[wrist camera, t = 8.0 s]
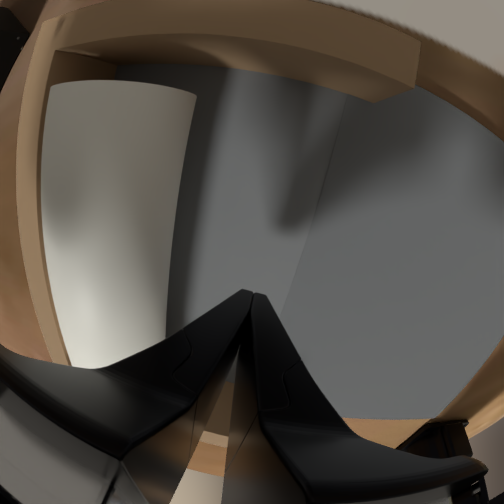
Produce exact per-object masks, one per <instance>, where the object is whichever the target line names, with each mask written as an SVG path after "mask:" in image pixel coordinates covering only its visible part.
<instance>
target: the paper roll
mask: <svg viewBox="0 0 504 504" xmlns="http://www.w3.org/2000/svg"><path fill="white" fill-rule="evenodd" d="M196 99H197V96H196V95H195V94H193V93H190V92H187V91H184V90H180V89H176V88H172V87H167V86H162V85H156V84H150V83H142V82H132V81H118V80H86V81H73V82H66V83H60V84H56V85H53V86H51V87H50V92H49V98H48V104H47V110H46V117H45V125H44V133H43V144H42V159H41V212H42V228H43V239H44V248H45V256H46V263H47V270H48V276H49V281H50V287H51V292H52V297H53V301H54V306H55V310H56V314H57V318H58V322H59V326H60V329H61V333H62V336H63V340H64V343H65V346H66V350H67V353H68V356H69V359H70V362H71V364H72V366H74V367H80V368H88V369H95V368H101V367H105V366H108V365H111V364H113V363H116V362H118V361H120V360H122V359H125V358H127V357H129V356H131V355H134V354H136V353H138V352H140V351H142V350H145V349H147V348H149V347H151V346H153V345H155V344H157V343H159V342H161V341H162V340H164V339H165V335H166V312H167V296H168V282H169V270H170V259H171V249H172V239H173V231H174V223H175V215H176V207H177V200H178V193H179V187H180V180H181V174H182V168H183V162H184V157H185V151H186V146H187V141H188V136H189V131H190V126H191V121H192V116H193V112H194V107H195V103H196Z"/></svg>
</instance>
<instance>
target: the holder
mask: <svg viewBox="0 0 504 504" xmlns="http://www.w3.org/2000/svg"><path fill="white" fill-rule="evenodd" d="M420 48H421V41H419V40H417V39H415V38H413V37H411V36H409V35H407V34H405V33H403V32H401V31H399V30H397V29H394V28H392V27H390V26H387V25H385V24H383V23H380V22H378V21H375V20H373V19H370V18H367V17H365V16H362V15H359V14H356V13H353V12H350V11H347V10H344V9H340V8H337V7H333V6H330V5H326V4H322V3H318V2H314V1H310V0H110V1H106V2H102V3H98V4H94V5H91V6H87V7H84V8H80V9H77V10H74V11H71V12H68V13H65V14H63V15H60V16H57V17H55V18H52V19H50V20H47V21H45V22H43V23H42V26H41V29H40V32H39V35H38V38H37V41H36V44H35V47H34V51H33V54H32V58H31V61H30V65H29V69H28V74H27V78H26V83H25V88H24V93H23V98H22V104H21V111H20V119H19V128H18V139H17V155H16V196H17V213H18V224H19V233H20V241H21V248H22V254H23V260H24V266H25V271H26V276H27V281H28V285H29V289H30V293H31V297H32V301H33V305H34V309H35V312H36V316H37V319H38V322H39V325H40V329H41V332H42V335H43V338H44V340H45V343H46V346H47V349H48V351H49V354H50V357H51V359H52V362H53V363H57V364H62V365H68V366H72V364H71V362H70V359H69V356H68V353H67V350H66V346H65V343H64V340H63V336H62V333H61V329H60V326H59V322H58V318H57V314H56V310H55V306H54V301H53V297H52V292H51V287H50V281H49V276H48V270H47V263H46V256H45V248H44V239H43V228H42V212H41V159H42V144H43V133H44V125H45V117H46V110H47V104H48V98H49V92H50V87H51V86H53V85H56V84H60V83H66V82H73V81H86V80H118V81H132V82H142V83H150V84H156V85H162V86H167V87H172V88H176V89H180V90H184V91H187V92H190V93H193V94H195V95H196V96H197V99H196V103H195V107H194V112H193V116H192V121H191V126H190V131H189V136H188V141H187V146H186V151H185V157H184V162H183V168H182V174H181V180H180V187H179V193H178V200H177V207H176V215H175V223H174V231H173V239H172V249H171V259H170V270H169V282H168V296H167V312H166V335H165V339H166V338H167V337H169V336H171V335H172V334H174V333H176V332H177V331H179V330H180V329H182V328H183V327H185V326H186V325H188V324H189V323H191V322H192V321H194V320H195V319H197V318H199V317H200V316H202V315H203V314H205V313H206V312H208V311H209V310H211V309H212V308H214V307H215V306H217V305H218V304H220V303H221V302H222V301H224V300H225V299H227V298H228V297H230V296H231V295H233V294H234V293H236V292H237V291H239V290H240V289H246V290H250V291H253V294H254V293H255V292H257V293H261V294H265V295H267V297H268V299H269V301H270V302H271V304H272V306H273V308H274V310H275V312H276V313H277V315H278V317H279V319H280V321H281V323H282V324H283V326H284V328H285V330H286V332H287V333H288V335H289V337H290V339H291V341H292V343H293V344H294V346H295V348H296V350H297V352H298V353H299V355H300V357H301V359H302V361H303V362H304V364H305V366H306V368H307V369H308V371H309V373H310V374H311V376H312V378H313V379H314V381H315V382H316V384H317V385H318V387H319V388H320V390H321V391H322V392H323V394H324V395H325V397H326V398H327V399H328V401H329V402H330V403H331V405H332V406H333V407H334V409H335V410H336V411H337V413H338V414H339V415H340V416H341V417H345V418H359V419H389V420H400V419H429V418H435V417H436V416H438V415H439V414H440V413H441V412H442V411H443V410H444V409H445V408H446V407H447V406H448V405H449V403H450V402H451V401H452V400H453V399H454V398H455V397H456V396H457V395H458V394H459V393H460V392H461V391H462V389H463V388H464V387H465V386H466V385H467V384H468V383H469V381H470V380H471V379H472V378H473V377H474V375H475V374H476V373H477V372H478V370H479V369H480V368H481V367H482V365H483V364H484V363H485V361H486V360H487V359H488V357H489V356H490V355H491V353H492V352H493V351H494V349H495V348H496V346H497V345H498V343H499V342H500V340H501V339H502V337H503V336H504V142H503V141H502V140H501V139H500V138H498V137H497V136H496V135H495V134H493V133H492V132H491V131H489V130H488V129H487V128H485V127H484V126H483V125H481V124H480V123H478V122H477V121H476V120H474V119H473V118H471V117H470V116H468V115H467V114H465V113H464V112H462V111H461V110H459V109H458V108H456V107H455V106H453V105H451V104H450V103H448V102H446V101H445V100H443V99H441V98H440V97H438V96H436V95H434V94H432V93H431V92H429V91H427V90H425V89H423V88H421V87H419V86H417V85H415V82H416V76H417V70H418V63H419V56H420ZM238 351H239V349H238ZM237 356H238V353H237ZM237 356H236V358H235V361H234V363H233V365H232V368H231V370H230V372H229V375H228V377H227V379H226V382H225V384H224V386H223V388H222V391H221V393H220V395H219V398H218V400H217V402H216V404H215V407H214V409H213V411H212V413H211V416H210V418H209V420H208V422H207V425H206V427H205V429H204V431H203V433H202V436H201V438H200V440H199V441H202V442H205V443H209V444H213V445H217V446H221V447H225V448H227V446H228V436H229V427H230V418H231V409H232V400H233V391H234V381H235V372H236V363H237Z"/></svg>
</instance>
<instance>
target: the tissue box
mask: <svg viewBox="0 0 504 504" xmlns="http://www.w3.org/2000/svg"><path fill="white" fill-rule="evenodd" d="M28 36H29V33H28V32H27V30H26V29H25V28H24V27H23V26H22V24H21V23H20V22H19V21H18V20H17V19H16V17H15V16H14V15H13V14H12V13H11V11H10V10H9V9H8V8H4V7H0V90H1V88H2V86H3V84H4V81H5V79H6V77H7V75H8V73H9V71H10V69H11V67H12V65H13V63H14V61H15V59H16V57H17V56H18V54H19V52H20V50H22V48H23V45H24V42H25V41H26V39H27V38H28Z"/></svg>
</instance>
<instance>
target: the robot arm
mask: <svg viewBox="0 0 504 504" xmlns="http://www.w3.org/2000/svg"><path fill="white" fill-rule="evenodd" d="M238 349H239V351H238ZM237 353H238V356H237ZM236 356H237V363H236V372H235V381H234V391H233V400H232V409H231V418H230V427H229V436H228V446H227V455H226V464H225V474H224V483H223V493H222V501H221V504H504V492H503V493H502V494H500V495H498V496H496V497H495V498H493V499H491V500H490V501H489V497H488V492H487V488H486V483H485V479H484V475H485V474H486V473H487V472H488V468H487V467H486V465H485V464H483V463H482V462H481V461H479V460H477V459H474V458H471V457H472V455H473V453H472V449H471V446H470V443H469V440H468V437H467V434H466V431H465V427H466V426H467V425H468V424H469V422H468V420H460V421H453V422H444V423H433V424H428V425H425V426H424V427H423V428H422V429H420V430H419V431H418V432H417V433H416V434H415V435H413V436H412V437H411V438H410V439H409V440H408V441H406V442H405V443H404V444H403V445H401V446H400V447H399V448H398V449H393V448H390V447H387V446H384V445H381V444H378V443H375V442H372V441H369V440H366V439H364V438H362V437H360V436H358V435H357V434H356V433H354V432H353V431H352V430H351V429H350V428H349V427H348V425H347V424H346V423H345V422H344V420H343V419H342V418H341V416H340V415H339V414H338V413H337V411H336V410H335V409H334V407H333V406H332V405H331V403H330V402H329V401H328V399H327V398H326V397H325V395H324V394H323V392H322V391H321V390H320V388H319V387H318V385H317V384H316V382H315V381H314V379H313V378H312V376H311V374H310V373H309V371H308V369H307V368H306V366H305V364H304V362H303V361H302V359H301V357H300V355H299V353H298V352H297V350H296V348H295V346H294V344H293V343H292V341H291V339H290V337H289V335H288V333H287V332H286V330H285V328H284V326H283V324H282V323H281V321H280V319H279V317H278V315H277V313H276V312H275V310H274V308H273V306H272V304H271V302H270V301H269V299H268V297H267V295H265V294H261V293H257V292H255V293H254V294H253V291H250V290H246V289H240V290H239V291H237V292H236V293H234V294H233V295H231V296H230V297H228V298H227V299H225V300H224V301H222V302H221V303H220V304H218V305H217V306H215V307H214V308H212V309H211V310H209V311H208V312H206V313H205V314H203V315H202V316H200V317H199V318H197V319H195V320H194V321H192V322H191V323H189V324H188V325H186V326H185V327H183V328H182V329H180V330H179V331H177V332H176V333H174V334H172V335H171V336H169V337H167V338H166V339H164V340H162V341H161V342H159V343H157V344H155V345H153V346H151V347H149V348H147V349H145V350H142V351H140V352H138V353H136V354H134V355H131V356H129V357H127V358H125V359H122V360H120V361H118V362H116V363H113V364H111V365H108V366H105V367H101V368H95V369H88V368H80V367H74V366H68V365H62V364H57V363H52V362H47V361H42V360H37V359H33V358H29V357H25V356H22V355H19V354H17V353H14V352H12V351H10V350H8V349H7V348H5V347H4V346H3V345H1V344H0V504H169V503H170V501H171V499H172V497H173V495H174V493H175V491H176V489H177V487H178V485H179V483H180V481H181V478H182V476H183V474H184V472H185V470H186V468H187V466H188V463H189V462H190V459H191V457H192V455H193V453H194V451H195V449H196V446H197V444H198V442H199V440H200V438H201V436H202V433H203V431H204V429H205V427H206V425H207V422H208V420H209V418H210V416H211V413H212V411H213V409H214V407H215V404H216V402H217V400H218V398H219V395H220V393H221V391H222V388H223V386H224V384H225V382H226V379H227V377H228V375H229V372H230V370H231V368H232V365H233V363H234V361H235V358H236ZM476 481H478V482H477V483H475V482H476ZM473 483H475V484H473ZM472 484H473V485H472ZM478 491H479V492H478ZM476 492H477V493H476Z"/></svg>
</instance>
